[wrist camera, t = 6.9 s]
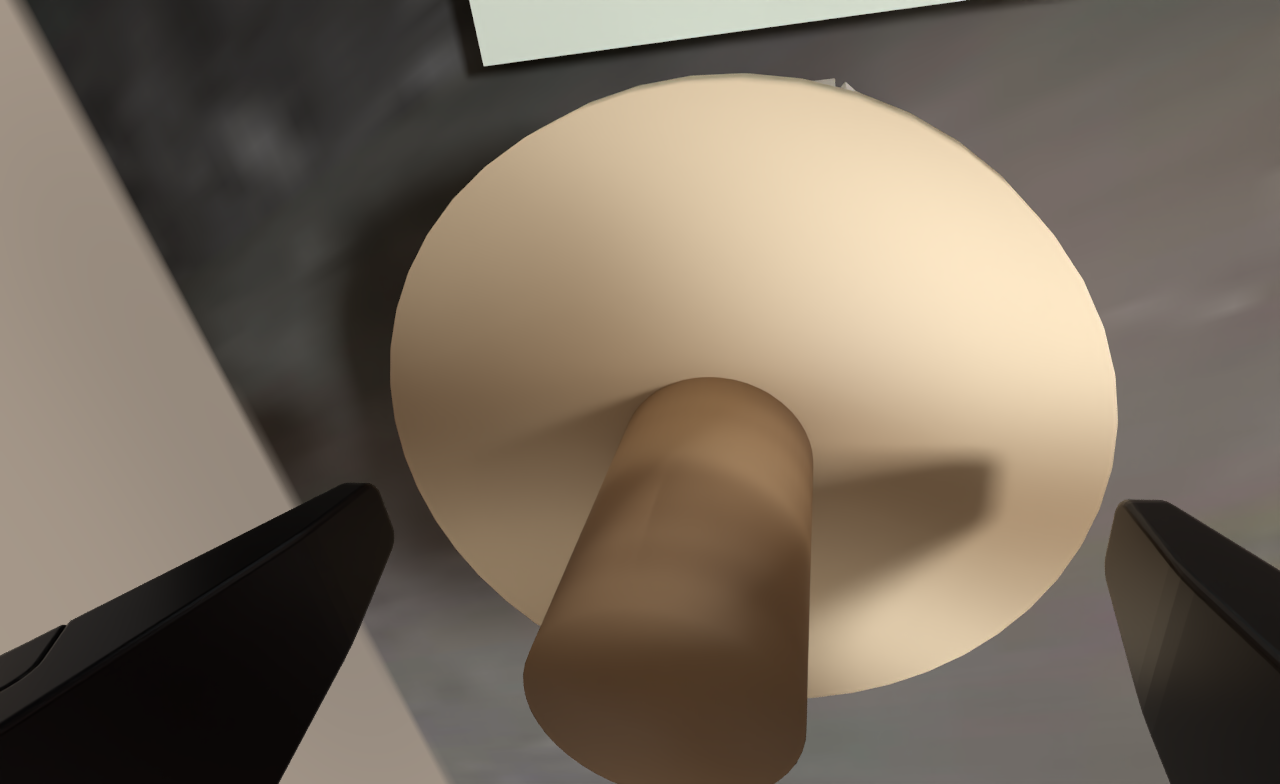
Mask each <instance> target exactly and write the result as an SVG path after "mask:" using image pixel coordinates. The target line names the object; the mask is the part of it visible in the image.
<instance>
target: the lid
mask: <svg viewBox="0 0 1280 784" xmlns="http://www.w3.org/2000/svg"><path fill="white" fill-rule="evenodd" d="M390 387H391V394H392V402H393V409H394V417H395V423H396V426H397V430H398V434H399V437H400V441H401V445H402V448H403V452H404V456H405V458H406V461H407V463H408V465H409V468H410V470H411V473H412V475H413V478H414V480H415V483H416V485H417V487H418V490H419V491H420V493H421V495H422V497H423V499H424V500H425V502H426V504H427V506H428V508H429V509H430V511H431V513H432V515H433V517H434V518H435V520H436V522H437V523H438V524H439V526H440V527H441V529H442V530H443V531H444V533H445V534H446V536H447V537H448V538H449V540H450V541H451V543H452V544H453V546H454V547H455V548H456V550H457V551H458V552H459V553H460V554H461V555H462V556H463V558H464V559H465V560H466V561H467V562H468V563H469V564H470V566H471V567H472V568H473V569H474V570H475V571H476V572H477V574H478V575H479V576H480V577H481V578H482V579H483V580H485V581H486V582H487V583H488V584H489V585H490V586H491V587H492V588H493V589H494V590H495V591H496V592H497V593H498V594H500V595H501V596H502V597H503V598H504V599H505V600H506V601H507V602H509V603H510V604H511V605H512V606H514V607H515V608H516V609H518V610H519V611H520V612H522V613H523V614H524V615H525V616H527V617H528V618H529V619H531V620H532V621H533V622H535V623H536V624H538V625H539V626H541V627H540V629H539V631H538V634H537V636H536V638H535V640H534V643H533V645H532V647H531V650H530V652H529V655H528V657H527V660H526V662H525V667H524V673H523V681H524V690H525V695H526V699H527V702H528V704H529V707H530V709H531V712H532V713H533V715H534V717H535V719H536V720H537V722H538V724H539V725H540V726H541V728H542V729H543V730H544V732H545V733H546V734H547V735H548V736H549V737H550V739H551V740H552V741H553V742H554V743H555V744H556V745H557V746H558V747H559V748H561V749H562V750H563V751H564V752H565V753H566V754H567V755H569V756H570V757H571V758H573V759H574V760H575V761H577V762H578V763H580V764H581V765H583V766H584V767H586V768H588V769H589V770H591V771H592V772H594V773H596V774H598V775H600V776H602V777H604V778H606V779H608V780H610V781H612V782H615V783H617V784H774V783H776V782H777V781H779V780H780V779H781V778H782V777H784V776H785V775H786V774H787V773H788V772H789V771H790V770H791V769H792V768H793V766H794V765H795V764H796V763H797V761H798V759H799V757H800V755H801V753H802V751H803V748H804V744H805V741H806V726H807V698H815V697H823V696H831V695H838V694H846V693H854V692H858V691H862V690H867V689H871V688H876V687H880V686H884V685H889V684H892V683H895V682H898V681H901V680H904V679H907V678H910V677H913V676H916V675H919V674H922V673H925V672H928V671H930V670H932V669H934V668H937V667H939V666H941V665H943V664H945V663H947V662H950V661H952V660H954V659H956V658H958V657H960V656H963V655H964V654H966V653H968V652H969V651H971V650H973V649H974V648H976V647H978V646H979V645H981V644H982V643H984V642H986V641H987V640H989V639H991V638H992V637H994V636H995V635H997V634H999V633H1000V632H1001V631H1002V630H1004V629H1005V628H1006V627H1007V626H1009V625H1010V624H1011V623H1012V622H1014V621H1015V620H1016V619H1017V618H1019V617H1020V616H1021V615H1022V614H1024V613H1025V612H1026V611H1027V610H1029V609H1030V608H1031V607H1032V606H1033V604H1034V603H1035V602H1036V601H1037V600H1038V599H1039V598H1040V597H1041V596H1042V595H1043V594H1044V593H1045V592H1046V591H1047V590H1048V589H1049V588H1050V587H1051V586H1052V585H1053V583H1054V582H1055V581H1056V580H1057V579H1058V578H1059V576H1060V575H1061V574H1062V572H1063V571H1064V569H1065V568H1066V567H1067V565H1068V564H1069V562H1070V561H1071V559H1072V558H1073V557H1074V555H1075V554H1076V552H1077V551H1078V550H1079V548H1080V547H1081V545H1082V543H1083V541H1084V539H1085V537H1086V535H1087V533H1088V531H1089V529H1090V527H1091V525H1092V523H1093V521H1094V519H1095V517H1096V515H1097V513H1098V511H1099V509H1100V506H1101V503H1102V499H1103V496H1104V493H1105V489H1106V486H1107V483H1108V480H1109V476H1110V473H1111V470H1112V466H1113V458H1114V450H1115V442H1116V434H1117V425H1118V416H1117V397H1116V379H1115V372H1114V368H1113V364H1112V360H1111V355H1110V351H1109V347H1108V343H1107V338H1106V334H1105V330H1104V327H1103V325H1102V322H1101V320H1100V318H1099V315H1098V313H1097V311H1096V308H1095V306H1094V304H1093V301H1092V299H1091V297H1090V294H1089V292H1088V290H1087V287H1086V285H1085V283H1084V281H1083V279H1082V278H1081V276H1080V275H1079V273H1078V271H1077V270H1076V268H1075V267H1074V265H1073V264H1072V262H1071V261H1070V259H1069V258H1068V256H1067V254H1066V253H1065V251H1064V250H1063V248H1062V247H1061V245H1060V244H1059V242H1058V241H1057V239H1056V238H1055V236H1054V235H1053V234H1052V232H1051V231H1050V230H1049V229H1048V228H1047V226H1046V225H1045V224H1044V223H1043V222H1042V221H1041V219H1040V218H1039V217H1038V216H1037V215H1036V213H1035V212H1034V211H1033V210H1032V209H1031V208H1030V207H1029V206H1028V205H1027V204H1026V202H1025V201H1024V200H1023V199H1022V198H1021V197H1020V196H1019V195H1018V194H1017V193H1016V191H1015V190H1014V189H1013V188H1012V187H1011V186H1010V185H1009V184H1008V183H1007V182H1006V180H1005V179H1004V178H1003V177H1002V176H1001V175H1000V174H999V173H997V172H996V171H995V170H994V169H992V168H991V167H990V166H989V165H987V164H986V163H985V162H984V161H982V160H981V159H980V158H979V157H977V156H976V155H975V154H974V153H972V152H971V151H970V150H969V149H968V148H966V147H965V146H964V145H963V144H961V143H960V142H959V141H957V140H956V139H954V138H952V137H950V136H949V135H947V134H945V133H944V132H942V131H940V130H938V129H937V128H935V127H933V126H932V125H930V124H928V123H926V122H925V121H923V120H921V119H919V118H918V117H916V116H914V115H913V114H911V113H909V112H906V111H904V110H901V109H899V108H896V107H894V106H891V105H889V104H886V103H884V102H881V101H879V100H876V99H874V98H871V97H869V96H866V95H864V94H861V93H859V92H856V91H852V90H847V89H843V88H839V87H835V86H831V85H827V84H823V83H818V82H814V81H810V80H806V79H802V78H791V77H781V76H770V75H760V74H749V73H738V74H717V75H695V76H687V77H681V78H676V79H671V80H666V81H660V82H655V83H650V84H645V85H639V86H636V87H633V88H630V89H627V90H625V91H622V92H619V93H616V94H613V95H610V96H607V97H604V98H601V99H599V100H596V101H593V102H590V103H588V104H586V105H584V106H582V107H580V108H579V109H577V110H575V111H573V112H571V113H569V114H567V115H565V116H563V117H561V118H559V119H557V120H556V121H554V122H552V123H550V124H548V125H546V126H544V127H543V128H541V129H539V130H537V131H535V132H534V133H532V134H530V135H528V136H527V137H525V138H524V139H522V140H521V141H519V142H518V143H517V144H515V145H514V146H513V147H511V148H510V149H509V150H507V151H506V152H504V153H503V154H502V155H500V156H499V157H498V158H496V159H495V160H494V161H492V162H491V163H489V164H488V165H487V166H485V167H484V168H483V169H482V170H481V171H480V172H479V173H478V174H477V175H476V176H475V177H474V178H473V179H472V180H471V181H470V182H469V183H468V184H467V185H466V186H465V187H464V188H463V189H462V190H461V191H460V192H459V193H458V194H457V195H456V196H455V197H454V198H453V200H452V201H451V202H450V204H449V205H448V206H447V208H446V209H445V211H444V212H443V213H442V215H441V216H440V218H439V219H438V220H437V222H436V223H435V225H434V226H433V227H432V229H431V230H430V231H429V233H428V234H427V236H426V238H425V240H424V242H423V244H422V246H421V248H420V250H419V252H418V254H417V256H416V258H415V260H414V262H413V264H412V266H411V268H410V270H409V272H408V275H407V278H406V281H405V284H404V288H403V291H402V294H401V297H400V300H399V303H398V306H397V309H396V316H395V322H394V329H393V335H392V341H391V353H390Z"/></svg>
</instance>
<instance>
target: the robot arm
mask: <svg viewBox="0 0 1280 784" xmlns="http://www.w3.org/2000/svg"><path fill="white" fill-rule="evenodd" d="M393 544H394V530H393V527H392V524H391V521H390V519H389V516H388V513H387V511H386V508H385V505H384V503H383V500H382V497H381V495H380V492H379V490H378V489H377V488H376V487H375V486H374V485H372V484H370V483H344V484H341V485H339V486H337V487H335V488H333V489H331V490H329V491H327V492H325V493H323V494H321V495H319V496H317V497H315V498H313V499H311V500H309V501H307V502H305V503H303V504H301V505H299V506H297V507H295V508H293V509H291V510H289V511H288V512H285V513H284V514H282V515H279V516H277V517H275V518H273V519H272V520H270V521H268V522H266V523H264V524H262V525H260V526H258V527H256V528H254V529H252V530H250V531H248V532H246V533H244V534H242V535H240V536H238V537H236V538H234V539H232V540H230V541H228V542H226V543H224V544H222V545H220V546H218V547H216V548H214V549H212V550H210V551H208V552H206V553H204V554H202V555H200V556H198V557H196V558H194V559H192V560H190V561H188V562H186V563H184V564H182V565H180V566H178V567H176V568H174V569H172V570H170V571H168V572H166V573H164V574H162V575H161V576H158V577H156V578H154V579H152V580H150V581H148V582H146V583H144V584H142V585H140V586H138V587H137V588H134V589H133V590H131V591H129V592H127V593H124V594H123V595H121V596H119V597H117V598H115V599H113V600H111V601H109V602H107V603H105V604H103V605H101V606H99V607H97V608H95V609H93V610H91V611H89V612H87V613H85V614H83V615H81V616H79V617H77V618H75V619H73V620H71V621H70V622H69V623H68V624H67V625H61V626H59V627H57V628H55V629H53V630H51V631H49V632H47V633H45V634H43V635H41V636H39V637H37V638H35V639H33V640H31V641H29V642H27V643H25V644H23V645H21V646H19V647H17V648H15V649H13V650H11V651H8V652H6V653H4V654H2V655H0V784H279V782H280V780H281V778H282V776H283V774H284V772H285V771H286V769H287V767H288V765H289V763H290V761H291V759H292V757H293V756H294V754H295V752H296V750H297V748H298V746H299V744H300V742H301V741H302V739H303V737H304V735H305V733H306V731H307V729H308V727H309V726H310V724H311V722H312V720H313V718H314V716H315V714H316V712H317V711H318V709H319V707H320V705H321V703H322V701H323V699H324V697H325V695H326V694H327V692H328V690H329V688H330V686H331V684H332V682H333V680H334V679H335V677H336V675H337V673H338V671H339V669H340V667H341V666H342V664H343V662H344V660H345V658H346V656H347V654H348V652H349V650H350V648H351V646H352V644H353V641H354V639H355V637H356V635H357V633H358V630H359V628H360V626H361V623H362V621H363V618H364V616H365V614H366V611H367V609H368V606H369V604H370V602H371V599H372V597H373V594H374V592H375V589H376V587H377V585H378V582H379V580H380V577H381V575H382V573H383V570H384V568H385V565H386V563H387V560H388V558H389V556H390V553H391V551H392V548H393ZM1105 576H1106V581H1107V585H1108V589H1109V593H1110V597H1111V600H1112V604H1113V608H1114V611H1115V615H1116V619H1117V622H1118V626H1119V630H1120V634H1121V637H1122V641H1123V645H1124V648H1125V652H1126V656H1127V660H1128V663H1129V667H1130V671H1131V674H1132V678H1133V682H1134V686H1135V689H1136V693H1137V696H1138V699H1139V703H1140V706H1141V710H1142V713H1143V716H1144V718H1145V721H1146V724H1147V726H1148V729H1149V732H1150V734H1151V737H1152V740H1153V742H1154V744H1155V747H1156V749H1157V752H1158V754H1159V757H1160V759H1161V762H1162V764H1163V767H1164V769H1165V772H1166V774H1167V777H1168V779H1169V782H1170V784H1280V570H1278V569H1277V568H1275V567H1273V566H1272V565H1270V564H1269V563H1267V562H1265V561H1264V560H1262V559H1260V558H1259V557H1257V556H1256V555H1254V554H1252V553H1251V552H1249V551H1247V550H1246V549H1244V548H1243V547H1241V546H1239V545H1238V544H1236V543H1234V542H1233V541H1231V540H1230V539H1228V538H1226V537H1225V536H1223V535H1221V534H1220V533H1218V532H1217V531H1215V530H1213V529H1212V528H1210V527H1208V526H1207V525H1205V524H1204V523H1202V522H1200V521H1199V520H1197V519H1195V518H1194V517H1192V516H1191V515H1189V514H1187V513H1186V512H1184V511H1182V510H1181V509H1179V508H1178V507H1176V506H1174V505H1173V504H1171V503H1169V502H1167V501H1163V500H1130V499H1128V500H1124V501H1122V502H1121V503H1119V505H1118V507H1117V508H1116V511H1115V515H1114V520H1113V524H1112V529H1111V534H1110V538H1109V543H1108V548H1107V552H1106V557H1105Z"/></svg>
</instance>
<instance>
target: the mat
mask: <svg viewBox="0 0 1280 784" xmlns="http://www.w3.org/2000/svg"><path fill="white" fill-rule="evenodd" d="M469 1H470V6H471V11H472V15H473V20H474V24H475V29H476V33H477V38H478V43H479V47H480V52H481V56H482V61H483V66H490V65H498V64H505V63H512V62H519V61H527V60H534V59H541V58H549V57H556V56H563V55H570V54H578V53H585V52H592V51H600V50H607V49H614V48H622V47H629V46H636V45H643V44H651V43H658V42H665V41H673V40H680V39H687V38H694V37H702V36H709V35H716V34H724V33H731V32H738V31H746V30H753V29H760V28H767V27H775V26H782V25H789V24H797V23H804V22H811V21H819V20H826V19H833V18H840V17H848V16H855V15H862V14H870V13H877V12H884V11H891V10H899V9H906V8H913V7H921V6H928V5H935V4H943V3H950V2H957V1H964V0H469Z"/></svg>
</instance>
